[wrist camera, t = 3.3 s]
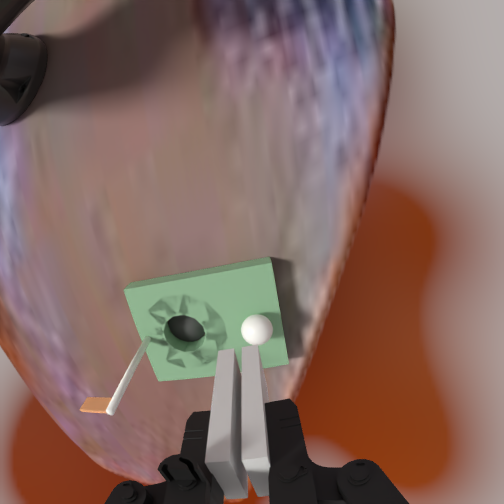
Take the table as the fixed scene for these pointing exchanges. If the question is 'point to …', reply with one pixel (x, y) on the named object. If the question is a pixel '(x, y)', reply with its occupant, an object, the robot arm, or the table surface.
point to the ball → (257, 329)
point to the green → (199, 322)
